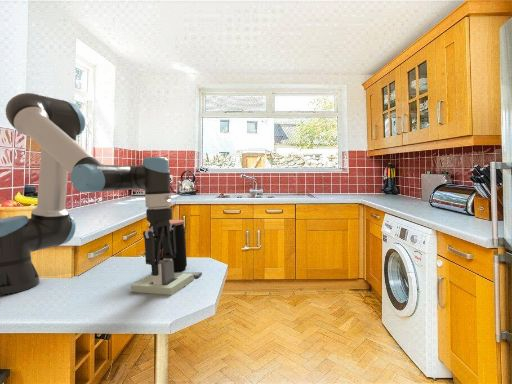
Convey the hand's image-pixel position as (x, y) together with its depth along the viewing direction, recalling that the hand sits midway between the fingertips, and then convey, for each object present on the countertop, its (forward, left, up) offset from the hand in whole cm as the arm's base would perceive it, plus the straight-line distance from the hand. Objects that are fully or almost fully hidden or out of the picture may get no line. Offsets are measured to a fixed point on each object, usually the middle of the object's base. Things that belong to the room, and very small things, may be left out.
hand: (163, 281), depth 92 cm
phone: (+3, +11, -2) cm, 12 cm away
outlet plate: (-1, +1, -2) cm, 3 cm away
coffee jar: (-8, +17, -2) cm, 19 cm away
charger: (0, 0, -2) cm, 2 cm away
